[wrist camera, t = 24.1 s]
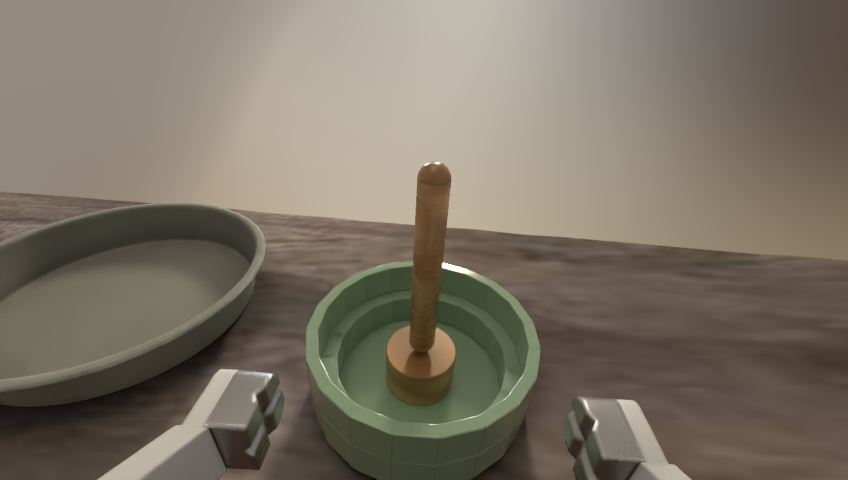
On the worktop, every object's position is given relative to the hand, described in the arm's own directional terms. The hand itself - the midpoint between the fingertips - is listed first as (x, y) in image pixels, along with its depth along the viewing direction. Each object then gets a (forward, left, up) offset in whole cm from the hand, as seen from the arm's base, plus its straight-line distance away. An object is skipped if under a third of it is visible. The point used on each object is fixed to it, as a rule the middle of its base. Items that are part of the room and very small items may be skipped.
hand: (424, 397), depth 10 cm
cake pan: (+20, -25, -15) cm, 36 cm away
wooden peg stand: (-4, -11, -14) cm, 19 cm away
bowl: (-4, -11, -15) cm, 19 cm away
